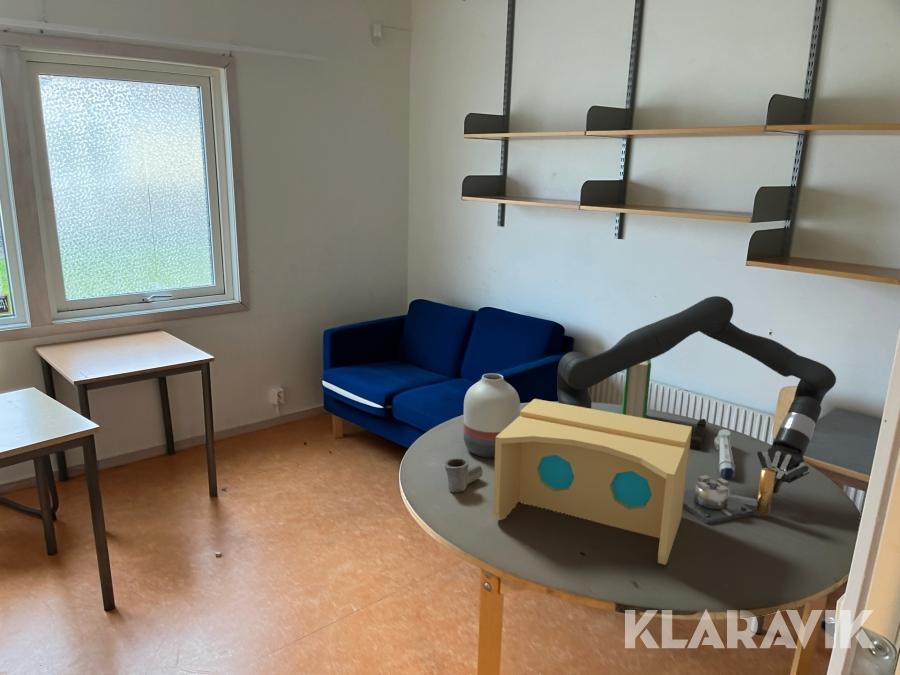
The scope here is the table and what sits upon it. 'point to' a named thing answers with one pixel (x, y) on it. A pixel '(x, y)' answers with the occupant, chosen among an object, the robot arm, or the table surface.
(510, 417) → the vase
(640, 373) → the hardback book
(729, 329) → the robot arm
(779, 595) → the table surface
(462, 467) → the pipe
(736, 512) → the hub plate
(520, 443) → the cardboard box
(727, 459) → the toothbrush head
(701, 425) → the hand tool
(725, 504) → the crank handle
